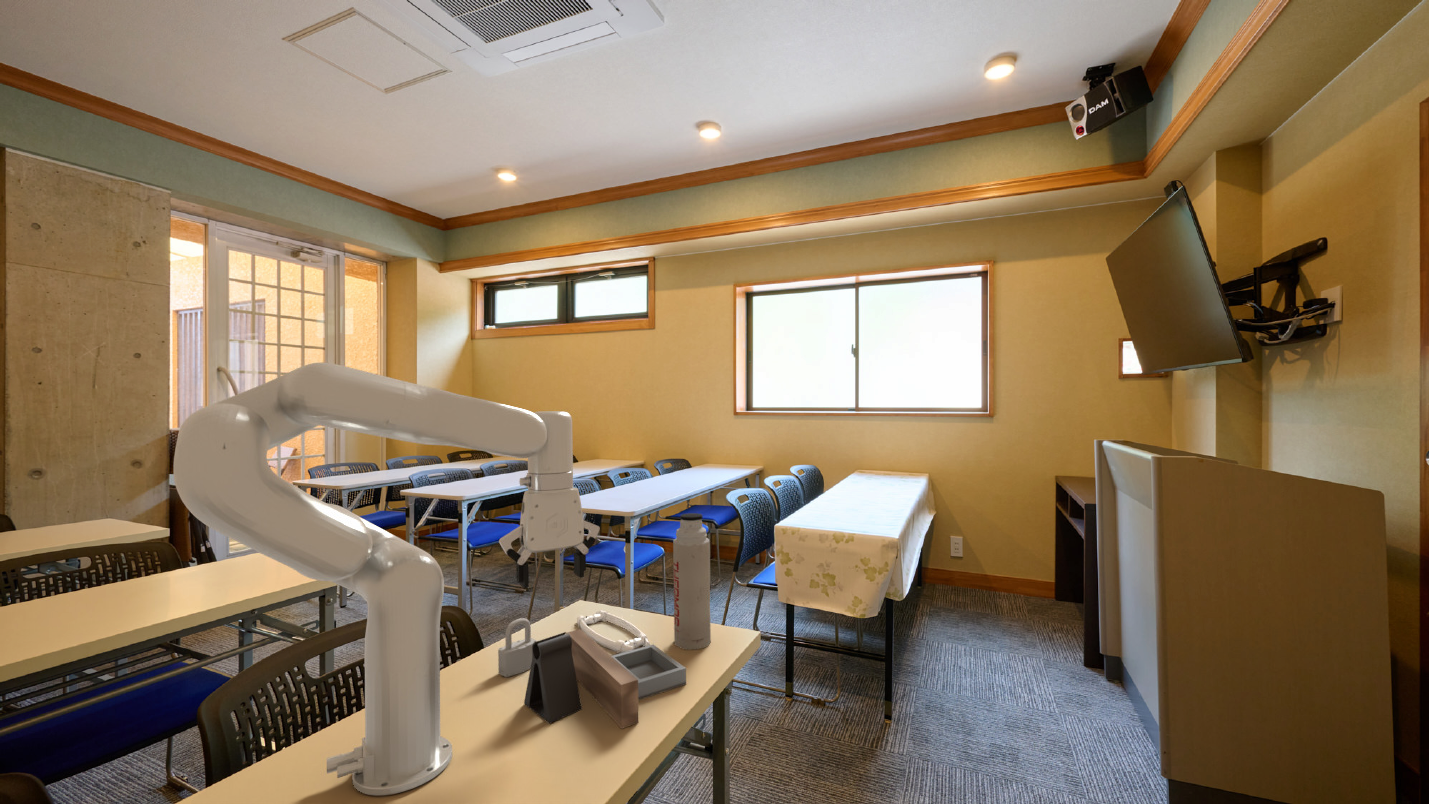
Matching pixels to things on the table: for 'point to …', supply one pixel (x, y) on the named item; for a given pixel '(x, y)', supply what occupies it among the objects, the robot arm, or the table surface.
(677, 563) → the thermos bottle
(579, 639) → the board
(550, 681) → the door stopper
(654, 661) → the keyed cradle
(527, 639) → the padlock
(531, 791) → the table surface
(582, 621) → the door handle
